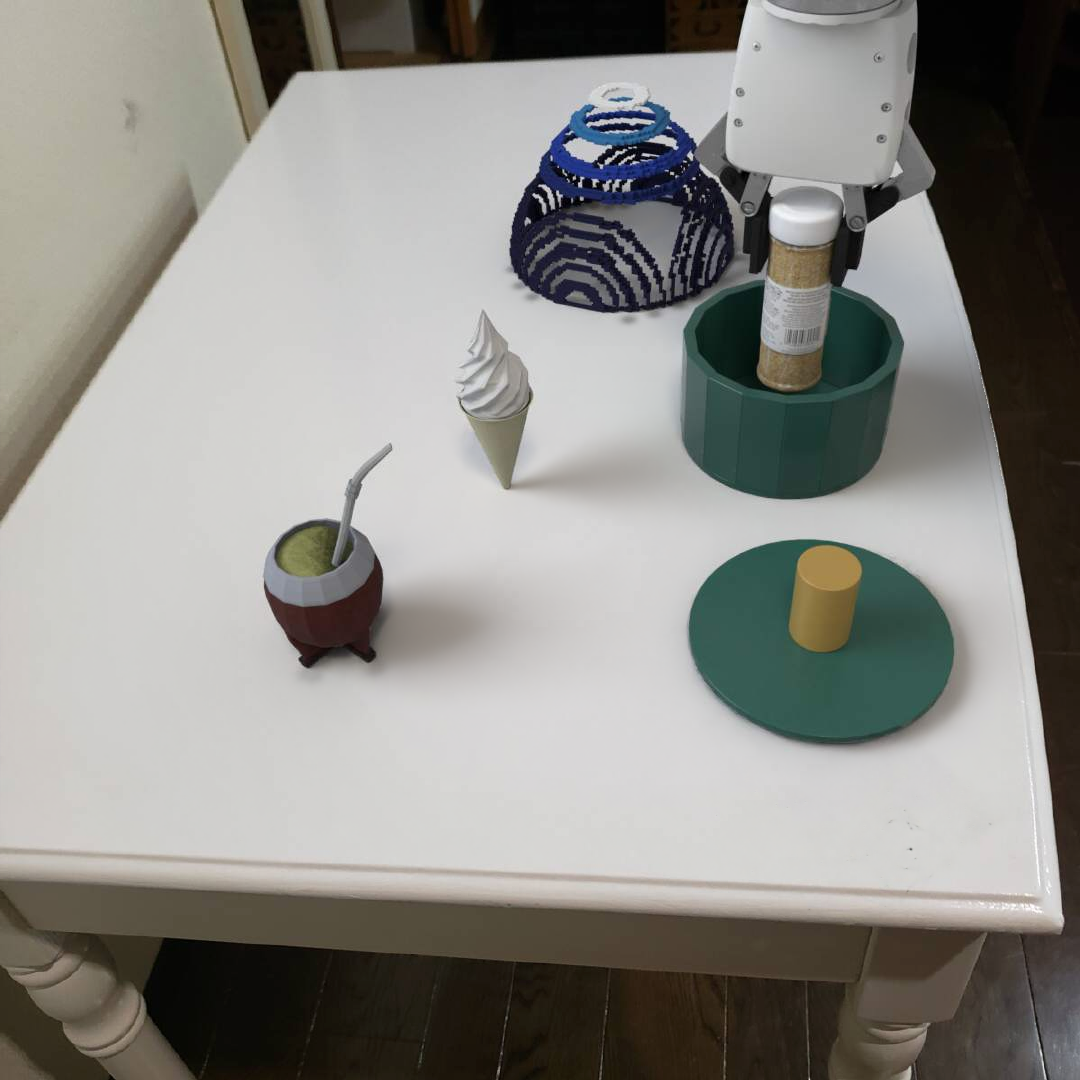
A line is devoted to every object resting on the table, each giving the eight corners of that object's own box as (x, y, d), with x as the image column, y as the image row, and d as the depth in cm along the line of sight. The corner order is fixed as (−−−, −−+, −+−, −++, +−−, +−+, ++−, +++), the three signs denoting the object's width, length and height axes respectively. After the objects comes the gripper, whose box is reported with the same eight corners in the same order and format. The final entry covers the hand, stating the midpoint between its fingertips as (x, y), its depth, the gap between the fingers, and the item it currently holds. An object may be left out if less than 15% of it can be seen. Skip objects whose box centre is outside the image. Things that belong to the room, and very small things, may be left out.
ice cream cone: (461, 476, 81) (433, 299, 71) (526, 456, 82) (508, 278, 72) (484, 519, 78) (459, 340, 67) (551, 497, 79) (537, 318, 68)
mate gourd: (263, 642, 71) (196, 465, 61) (355, 572, 75) (308, 393, 64) (339, 702, 67) (282, 523, 57) (432, 624, 71) (395, 444, 61)
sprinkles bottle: (821, 358, 80) (845, 183, 71) (820, 397, 77) (845, 220, 67) (756, 355, 81) (771, 181, 71) (753, 393, 78) (768, 217, 68)
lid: (967, 584, 71) (990, 507, 66) (927, 783, 61) (951, 709, 56) (727, 529, 76) (733, 454, 71) (654, 705, 66) (655, 630, 61)
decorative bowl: (566, 183, 112) (558, 35, 102) (760, 214, 105) (772, 60, 95) (474, 286, 99) (455, 129, 89) (687, 329, 92) (692, 165, 82)
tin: (899, 392, 85) (919, 296, 79) (861, 518, 76) (880, 420, 70) (713, 358, 89) (718, 265, 83) (655, 473, 80) (656, 377, 74)
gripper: (1006, -42, 60) (942, 259, 73) (700, -61, 65) (691, 223, 78) (989, 9, 55) (923, 322, 68) (660, -15, 60) (657, 279, 73)
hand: (799, 267), depth 73 cm, fingers closed on sprinkles bottle, 4 cm apart
